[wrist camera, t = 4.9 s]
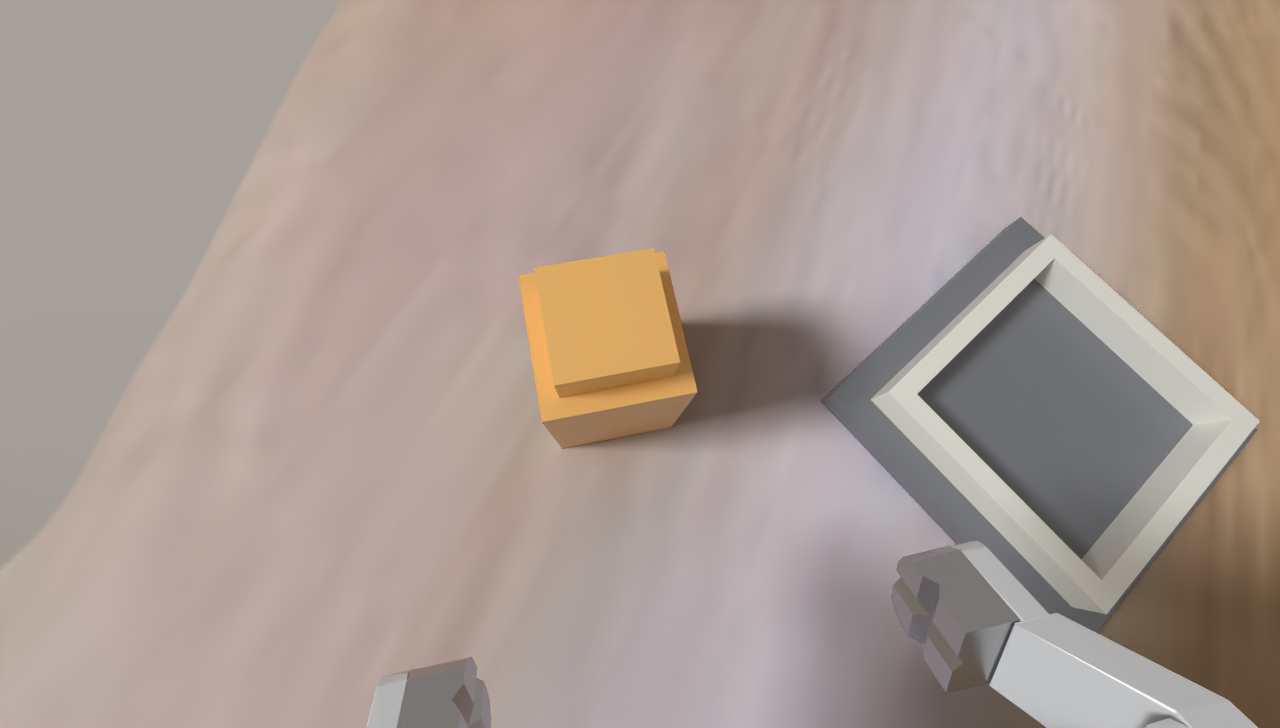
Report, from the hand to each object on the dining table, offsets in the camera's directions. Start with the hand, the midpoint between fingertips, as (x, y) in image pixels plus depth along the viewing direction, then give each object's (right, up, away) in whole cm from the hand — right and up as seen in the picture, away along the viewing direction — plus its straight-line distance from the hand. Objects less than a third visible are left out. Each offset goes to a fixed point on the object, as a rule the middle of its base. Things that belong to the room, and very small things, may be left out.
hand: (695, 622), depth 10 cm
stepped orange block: (-2, +4, +13) cm, 14 cm away
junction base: (+16, +3, +13) cm, 21 cm away
